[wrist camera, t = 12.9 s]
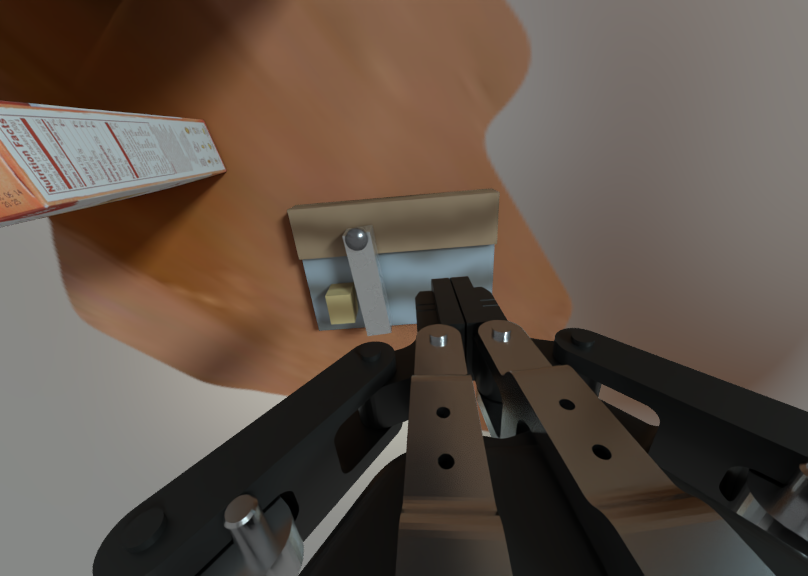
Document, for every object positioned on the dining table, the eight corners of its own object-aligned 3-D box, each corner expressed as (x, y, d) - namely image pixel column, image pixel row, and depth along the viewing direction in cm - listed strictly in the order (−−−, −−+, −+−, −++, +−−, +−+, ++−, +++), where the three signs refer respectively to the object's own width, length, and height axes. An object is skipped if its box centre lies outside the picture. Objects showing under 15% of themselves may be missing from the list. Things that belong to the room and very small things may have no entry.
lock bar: (345, 222, 35) (339, 231, 32) (370, 218, 35) (367, 226, 32) (369, 323, 41) (367, 338, 38) (392, 319, 41) (391, 335, 38)
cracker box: (125, 202, 37) (-160, 265, 18) (92, 149, 35) (-277, 159, 16) (231, 175, 36) (43, 213, 17) (206, 118, 33) (-48, 88, 15)
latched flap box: (295, 205, 37) (279, 215, 32) (492, 188, 37) (506, 195, 32) (322, 323, 45) (312, 345, 40) (487, 310, 44) (497, 332, 39)
